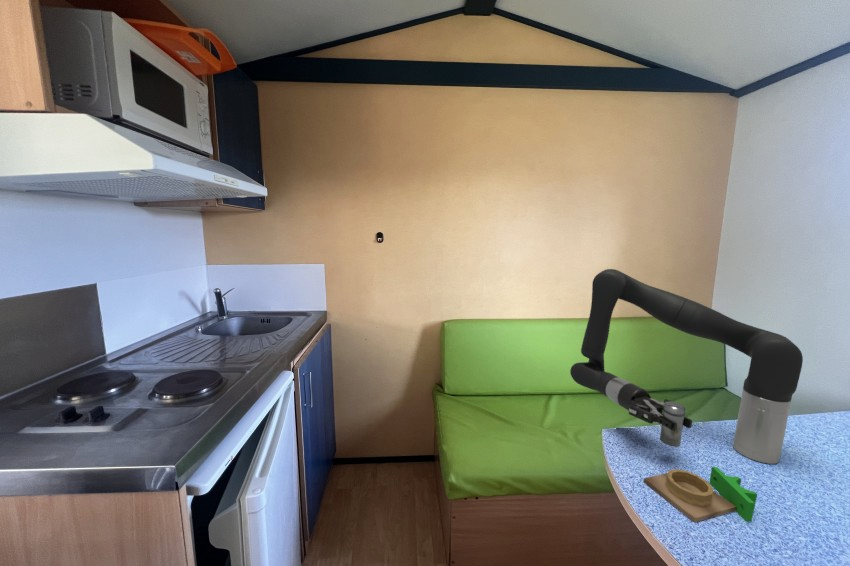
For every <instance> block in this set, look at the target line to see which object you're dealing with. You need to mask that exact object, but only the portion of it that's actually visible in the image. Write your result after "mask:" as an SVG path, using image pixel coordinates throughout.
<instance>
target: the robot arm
mask: <svg viewBox="0 0 850 566" xmlns="http://www.w3.org/2000/svg"><path fill="white" fill-rule="evenodd" d="M591 288H592V289H591V304H590V311H589V317H588V320H587V325H586V328H585V331H584V335H583V339H582V344H581V348H580V353H581V355H582V356H583V357H585V358H587V359H588V362H587V361H586V362H576V363H574V364H573V365H572V366H571V368H570V371H569V372H570V373H569V374H570V376H571V378H572V379H573V381H574V382H575V383H576V384H578V385H579V386H582V387H584V388H587V389H590V390H593V391H596V392H598V393H600V394H601V395H604V396H605V397H607V398H608V399H609V400H611V401H612V402H614V403H615V404H617V405H619V406H620V407H622V408H623V409H626V410H627V411H628V415H630V416H631V417H634V418H636V419H639V420H641V421H644V422H646V423H648V424H658V425H661V426H662V425H663V426H665V427H667V428H669V429H670V430H672V431H675V430H677V423H676V422H675V421H673V420H671V419H669V418H667V417H665V416H664V415H663V407H664V403H665V402H672V401H670V400H669V399H667V398H666V399H664V400H663V401H659V400H658V399H655V398H652V397H651V395H650V394H649V392H648V390H646V389H644V388H643V387H640V386H639V385H636V384H634V383H633V382H630V381H629V380H626V379H623V378H621V377H618V376H617V375H615V374H613V373H611V372H608V371H605V351H606V347H607V345H608V339H609V334H610V327H611V320H612V315H613V313H614V312H613V311H614V310H615V307H616V304H617V303H618V301H619V300H621V301H625V302H627V303H630V304H632V305H634V306H635V307H638V308H640V309H641V310H643V311H644V312H646V313H647V314H649V315H650V316H652V317H653V318H654V319H657V321H660V322H661V323H663V324H664V325H667V326H669V327H671V328H674V329H676V330H678V331H680V332H683V333H686V334H689V335H691V336H695V337H698V338H702V339H706V340H711V341H715V342H718V343H721V344H724V345H726V346H728V347H730V348H733V349H735V350H737V351H738V352H739V353H742V354H744V355H746V356H747V357H750V363H749V367H748V368H749V369H748V374H747V376H746V377H745V379H744V380H743V387H742V393H741V399H740V404H739V410H738V415H737V420H736V427H735V432H734V438H733V442H732V443H733V444H732V447H733V448H734V450H735V451H736V452H737V453H739V454H741V455H742V456H744V457H746V458H748V459H750V460H753V461H756V462H760V463H764V464H769V465H772V464H773V465H774V464H778V463H779V462H780V458H781V455H782V451H783V450H782V449H783V445H784V440H785V435H786V429H787V425H788V418H789V412H790V408H791V403H792V400H793V399H792V397H793V395H794V393H795V392H796V391H797V389H798V384H799V379H800V375H801V373H802V368H803V360H804V359H803V354H802V353H803V352H802V351H801V349H800V348H799V347H798V346H797V345H796V344H795V343H794V342H792V341H791V339H789V338H787V337H786V336H784V335H782V334H779V333H776V332H773V331H770V330H765V329H762V328H759V327H757V326H753V325H751V324H746V323H743V322H741V321H739V320H736V319H734V318H731V317H729V316H727V315H725V314H724V313H722V312H719V311H717V310H715V309H713V308H711V307H709V306H706V305H703V304H701V303H700V302H696V301H694V300H692V299H689V298H686V297H684V296H682V295H679V294H675V293H673V292H669V291H667V290H664V289H661V288H657V287H656V286H655V287H654V286H652V285H648V284H647V283H644V282H642V281H640V280H637V279H635V278H634V277H632V276H630V275H628V274H626V273H624V272H622V271H621V270H618V269H614V268H607V269H603V270H601V271H600V272H599V273H597V274H596V275H595V276H594V278H593V280H592V287H591ZM683 427H685V428H687V429H691V428H692V427H693V420H692V419H691V418H689V417H688V416H686V415H685V416H684V423H683Z"/></svg>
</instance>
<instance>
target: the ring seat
mask: <svg viewBox="0 0 850 566" xmlns="http://www.w3.org/2000/svg"><path fill="white" fill-rule="evenodd" d="M643 483H645V485H647V486H648V487H649V488H650V489H652V490H653V491H654V492H656V494H658V495H659V496H661V498H663V499H664V500H666V501H667V502H668V503H669V504H671V505H672V506H673V507H674V508H675V509H676V510H678V511H680V512H681V514H683V515H684V516H685V517H687V518H688V519H689V520H690V521H691V522H693V523H698V522H701V521H704V520H705V521H706V520H709V519H711V518H716V517H719V516H722V515H725V514H729V512H730V513H732V512H736V506H735V505H733V504H732V503H730V502H729V501H727V500H726V499H724V498H723V497H722V496H721V495H720V494H719V493H718V492H717V491H716V492H715V491H714V487H713V486H712V485H711V484H710V483H709V481H707V480H705V479H704V478H703V477H701V476H700V475H698V474H696V473H693V472H690V471H689V470H684V469H678V468H675V469H669V470H668V472H666V473H662V474H656V475H652V476H648V477H644V479H643Z"/></svg>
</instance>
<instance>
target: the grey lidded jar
mask: <svg viewBox="0 0 850 566" xmlns="http://www.w3.org/2000/svg"><path fill="white" fill-rule="evenodd" d="M663 415H664V416H665V417H667V418H669V419H671V420H673V421H675V422H676V423H677V430H675V431H672V430H670V429H669V428H667V427H665V426H663V425H662V424H661V426H660V434H659V436H660V437H659V440H660V442H662V444H665V445H667V446H669V447H673V448H679V447H681V444H682V443H681V442H682V437H683V436H682V435H683V428H684V426H683V423H684V416H685V417H686V406H685V405H682V404H681V403H678V402H675V401H671V402H665V403H664V407H663Z"/></svg>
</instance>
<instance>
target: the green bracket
mask: <svg viewBox="0 0 850 566" xmlns="http://www.w3.org/2000/svg"><path fill="white" fill-rule="evenodd" d="M708 483H709V484H710V485H711V487H712V488H713V489H714V490H715V489H716V490H717V491H718V492H719V493H718V492H717V491H716V490H715V491H716V492H717V493H718V494H719V495H720V496H722V497H723V498H724V499H726V500H727V501H729V502H730V503H732V504H733V505H735V506H736V511H735V512H736V513H737V514H738V515H739V516H740V517H741V519H742V520H744V522H750V523H752V519H753V516H754V515H753V514H754V512H755V507H756V502H757V498H758V493H757V492H756V491H754V490H750V489H747V488H744V487H743V486H741V483H742V479H741V478H740V477H739V476H731V475H726V474H725V472H723V471H722V470H721V469H720V468H719V467H718V466H711V472H710V476H709V481H708Z"/></svg>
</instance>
